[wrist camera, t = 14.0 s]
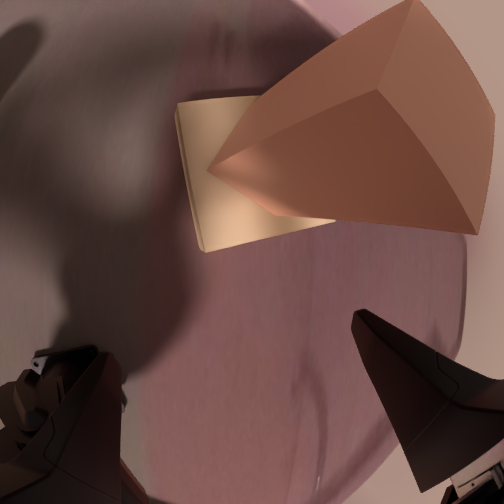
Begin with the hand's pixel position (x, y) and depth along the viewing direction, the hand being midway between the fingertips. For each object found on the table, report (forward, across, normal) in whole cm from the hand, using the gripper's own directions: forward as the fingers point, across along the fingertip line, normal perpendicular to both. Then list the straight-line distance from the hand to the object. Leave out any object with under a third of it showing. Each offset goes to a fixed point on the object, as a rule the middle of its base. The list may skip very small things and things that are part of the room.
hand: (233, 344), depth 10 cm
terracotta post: (+12, -4, -3) cm, 13 cm away
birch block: (+15, -3, -2) cm, 15 cm away
